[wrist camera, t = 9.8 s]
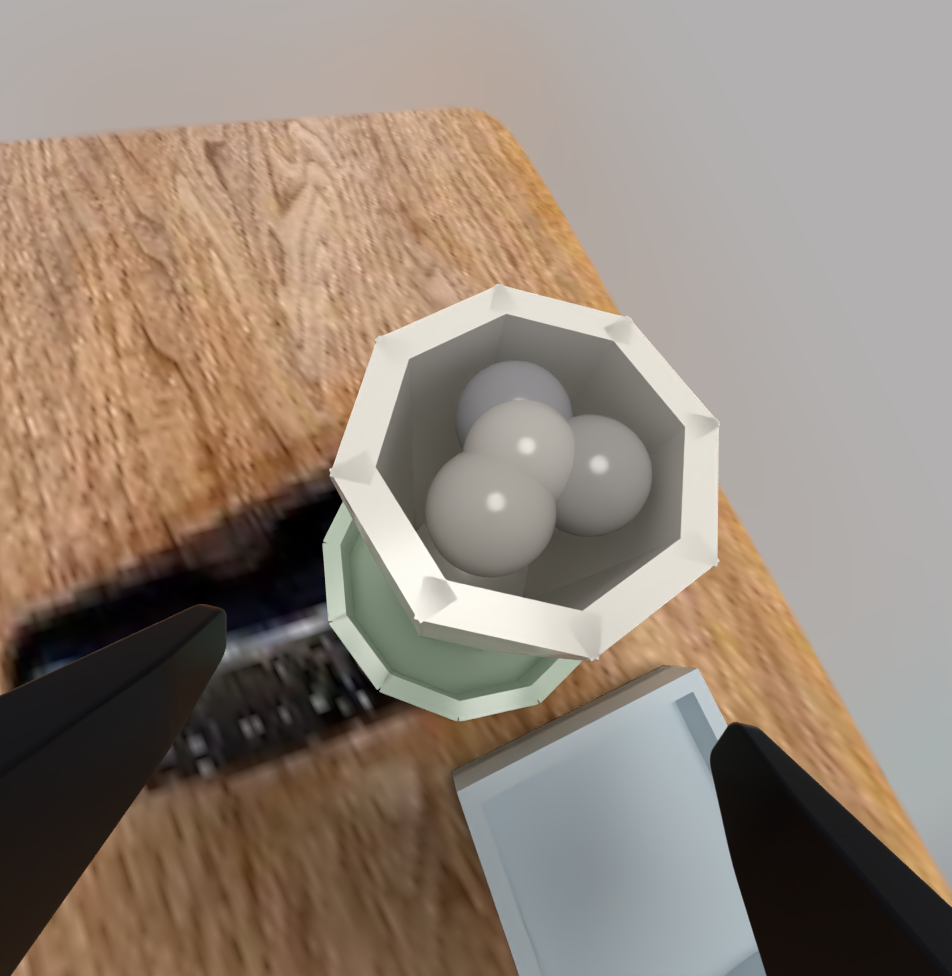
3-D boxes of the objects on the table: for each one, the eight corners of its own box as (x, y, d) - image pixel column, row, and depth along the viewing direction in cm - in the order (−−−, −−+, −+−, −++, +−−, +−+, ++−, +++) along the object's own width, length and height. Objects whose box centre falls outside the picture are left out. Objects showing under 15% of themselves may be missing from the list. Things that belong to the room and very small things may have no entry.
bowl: (543, 744, 17) (567, 764, 14) (293, 648, 17) (269, 649, 14) (605, 506, 21) (634, 484, 18) (399, 428, 21) (396, 394, 18)
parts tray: (791, 926, 16) (854, 974, 14) (561, 1093, 14) (590, 1183, 12) (663, 665, 19) (697, 668, 16) (451, 771, 17) (456, 792, 14)
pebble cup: (525, 660, 17) (737, 692, 6) (373, 627, 17) (276, 590, 6) (548, 515, 20) (736, 325, 8) (413, 483, 19) (401, 239, 8)
